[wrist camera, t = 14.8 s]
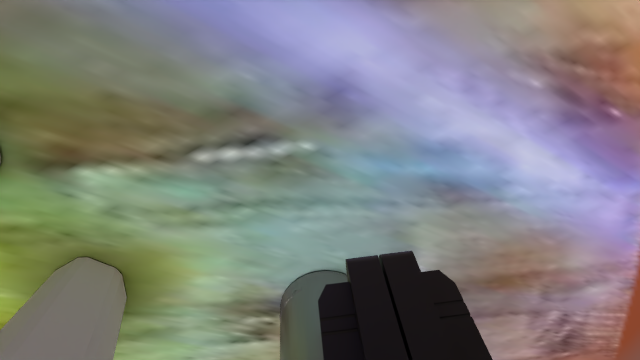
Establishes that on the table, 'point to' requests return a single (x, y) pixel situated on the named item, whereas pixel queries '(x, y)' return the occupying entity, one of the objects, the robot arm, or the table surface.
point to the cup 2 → (69, 316)
